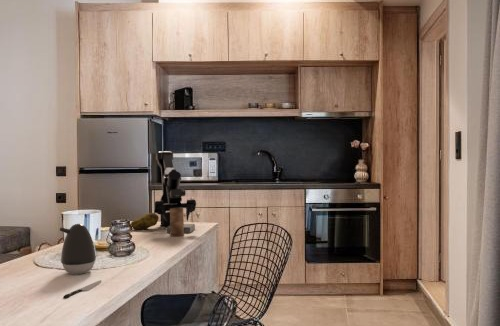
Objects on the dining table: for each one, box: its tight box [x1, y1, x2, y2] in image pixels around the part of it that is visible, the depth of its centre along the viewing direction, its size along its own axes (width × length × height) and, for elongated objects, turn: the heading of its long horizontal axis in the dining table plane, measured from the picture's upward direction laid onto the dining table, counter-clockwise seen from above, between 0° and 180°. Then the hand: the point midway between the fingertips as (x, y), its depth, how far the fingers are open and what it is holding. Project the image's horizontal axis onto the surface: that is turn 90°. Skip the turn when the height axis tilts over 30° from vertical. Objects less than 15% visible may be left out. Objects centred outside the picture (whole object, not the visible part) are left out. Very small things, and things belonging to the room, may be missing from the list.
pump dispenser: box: [59, 223, 97, 275], centre depth 151 cm, size 10×10×15 cm
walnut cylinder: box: [169, 208, 185, 237], centre depth 218 cm, size 6×6×12 cm
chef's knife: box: [63, 279, 102, 299], centre depth 132 cm, size 19×1×3 cm
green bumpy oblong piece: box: [130, 212, 159, 230], centre depth 237 cm, size 8×13×8 cm, turn 80°
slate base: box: [166, 223, 196, 234], centre depth 230 cm, size 11×11×2 cm
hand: (177, 220), depth 216 cm, fingers open, 9 cm apart
